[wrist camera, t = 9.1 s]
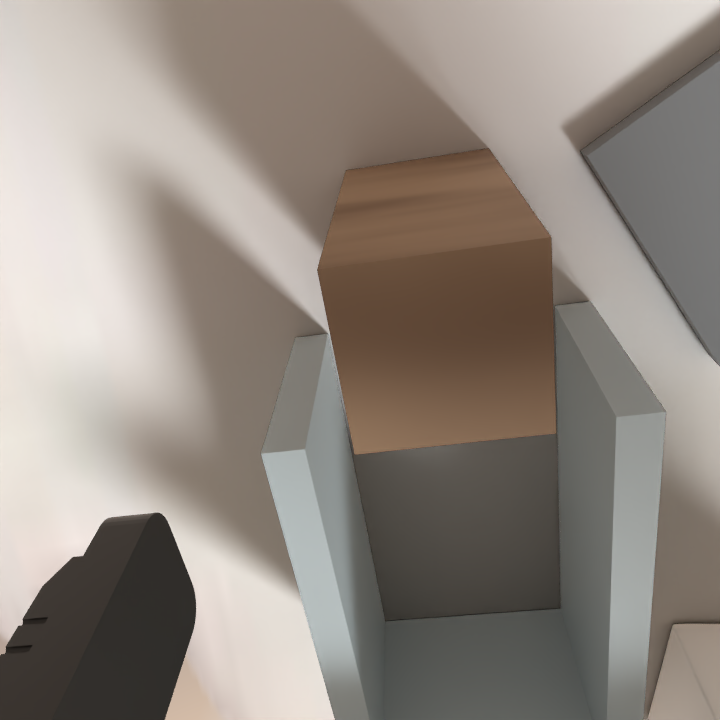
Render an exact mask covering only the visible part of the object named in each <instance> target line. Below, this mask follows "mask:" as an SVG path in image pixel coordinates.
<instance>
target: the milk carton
mask: <svg viewBox="0 0 720 720" xmlns="http://www.w3.org/2000/svg"><path fill="white" fill-rule="evenodd" d="M648 720H720V624H674V625H673V626H672V630H671V634H670V637H669V641H668V645H667V649H666V652H665V656H664V660H663V663H662V667H661V671H660V675H659V678H658V682H657V686H656V690H655V693H654V697H653V701H652V705H651V709H650V712H649V716H648Z"/></svg>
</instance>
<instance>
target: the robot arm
mask: <svg viewBox="0 0 720 720" xmlns="http://www.w3.org/2000/svg"><path fill="white" fill-rule="evenodd" d="M195 617H196V599H195V592H194V588H193V585H192V582H191V579H190V577H189V574H188V572H187V569H186V567H185V564H184V562H183V559H182V557H181V554H180V551H179V549H178V546H177V544H176V541H175V539H174V536H173V534H172V531H171V529H170V526H169V524H168V521H167V520H166V518H165V517H164V516H163V515H162V514H160V513H150V514H140V515H130V516H121V517H111V518H108V519H106V520H105V521H104V522H103V523H102V524H101V526H100V527H99V529H98V531H97V533H96V534H95V536H94V538H93V540H92V541H91V543H90V545H89V547H88V548H87V550H86V552H85V554H84V555H83V556H80V557H73V558H72V559H70V560H69V561H68V562H67V563H66V564H65V565H64V566H63V567H62V568H61V569H60V570H59V571H58V572H57V573H56V574H55V575H54V576H53V577H52V578H51V579H50V580H49V581H48V582H47V583H45V584H44V585H43V586H42V588H41V590H40V591H39V593H38V595H37V596H36V598H35V600H34V601H33V603H32V604H31V606H30V608H29V609H28V611H27V613H26V614H25V616H24V618H23V625H22V626H18V628H17V629H16V631H15V632H14V634H13V636H12V637H11V639H10V641H9V642H8V644H7V646H6V653H5V654H1V655H0V720H165V717H166V714H167V711H168V707H169V704H170V701H171V698H172V695H173V692H174V688H175V686H176V682H177V679H178V676H179V673H180V670H181V667H182V664H183V661H184V658H185V655H186V651H187V648H188V645H189V642H190V639H191V636H192V633H193V629H194V624H195Z"/></svg>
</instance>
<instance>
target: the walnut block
mask: <svg viewBox="0 0 720 720" xmlns="http://www.w3.org/2000/svg"><path fill="white" fill-rule="evenodd" d="M317 271H318V276H319V281H320V286H321V291H322V296H323V301H324V306H325V310H326V315H327V320H328V325H329V330H330V335H331V340H332V345H333V350H334V355H335V360H336V365H337V370H338V375H339V380H340V385H341V389H342V394H343V399H344V404H345V409H346V414H347V419H348V424H349V429H350V434H351V439H352V444H353V449H354V454H355V455H357V454H366V453H376V452H385V451H395V450H404V449H414V448H423V447H433V446H442V445H452V444H461V443H471V442H480V441H489V440H499V439H508V438H518V437H527V436H537V435H546V434H556V404H555V365H554V326H553V287H552V248H551V236H550V235H549V233H548V232H547V230H546V229H545V227H544V226H543V225H542V223H541V222H540V220H539V219H538V218H537V216H536V215H535V213H534V212H533V210H532V209H531V208H530V206H529V205H528V203H527V202H526V200H525V199H524V198H523V196H522V195H521V193H520V192H519V191H518V189H517V188H516V186H515V185H514V183H513V182H512V181H511V179H510V178H509V176H508V175H507V173H506V172H505V171H504V169H503V168H502V166H501V165H500V163H499V162H498V161H497V159H496V158H495V156H494V155H493V154H492V152H491V151H490V149H489V148H487V149H481V150H474V151H468V152H461V153H455V154H449V155H442V156H436V157H429V158H423V159H417V160H410V161H404V162H397V163H391V164H384V165H378V166H372V167H365V168H359V169H352V170H346V172H345V175H344V179H343V182H342V186H341V189H340V193H339V196H338V200H337V203H336V206H335V210H334V213H333V217H332V220H331V224H330V227H329V231H328V234H327V238H326V241H325V244H324V248H323V251H322V255H321V258H320V262H319V265H318V269H317Z"/></svg>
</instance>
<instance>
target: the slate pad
mask: <svg viewBox="0 0 720 720" xmlns="http://www.w3.org/2000/svg"><path fill="white" fill-rule="evenodd" d="M581 153H582V154H583V156H584V158H585V159H586V161H587V162H588V164H589V166H590V167H591V169H592V170H593V172H594V173H595V175H596V177H597V178H598V180H599V181H600V183H601V184H602V186H603V188H604V189H605V191H606V192H607V194H608V196H609V197H610V199H611V200H612V202H613V203H614V205H615V207H616V208H617V210H618V211H619V213H620V215H621V216H622V218H623V219H624V221H625V222H626V224H627V226H628V227H629V229H630V230H631V232H632V233H633V235H634V237H635V238H636V240H637V241H638V243H639V245H640V246H641V248H642V249H643V251H644V252H645V254H646V256H647V257H648V259H649V260H650V262H651V264H652V265H653V267H654V268H655V270H656V271H657V273H658V275H659V276H660V278H661V279H662V281H663V282H664V284H665V286H666V287H667V289H668V290H669V292H670V294H671V295H672V297H673V298H674V300H675V301H676V303H677V305H678V306H679V308H680V309H681V311H682V313H683V314H684V316H685V317H686V319H687V320H688V322H689V324H690V325H691V327H692V328H693V330H694V332H695V333H696V335H697V336H698V338H699V339H700V341H701V343H702V344H703V346H704V347H705V349H706V350H707V352H708V354H709V355H710V356H711V358H712V359H713V360H714V361H715V362H716V363H717V364H718V365H719V366H720V50H719V51H718V52H716V53H715V54H713V55H712V56H711V57H709V58H708V59H706V60H705V61H704V62H702V63H701V64H700V65H698V66H697V67H695V68H694V69H693V70H691V71H690V72H688V73H687V74H686V75H684V76H683V77H682V78H680V79H679V80H677V81H676V82H675V83H673V84H672V85H671V86H669V87H668V88H666V89H665V90H664V91H662V92H661V93H659V94H658V95H657V96H655V97H654V98H653V99H651V100H650V101H648V102H647V103H646V104H644V105H643V106H642V107H640V108H639V109H637V110H636V111H635V112H633V113H632V114H630V115H629V116H628V117H626V118H625V119H624V120H622V121H621V122H619V123H618V124H617V125H615V126H614V127H613V128H611V129H610V130H608V131H607V132H606V133H604V134H603V135H601V136H600V137H599V138H597V139H596V140H595V141H593V142H592V143H590V144H589V145H588V146H586V147H585V148H583V149H582V150H581Z"/></svg>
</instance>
